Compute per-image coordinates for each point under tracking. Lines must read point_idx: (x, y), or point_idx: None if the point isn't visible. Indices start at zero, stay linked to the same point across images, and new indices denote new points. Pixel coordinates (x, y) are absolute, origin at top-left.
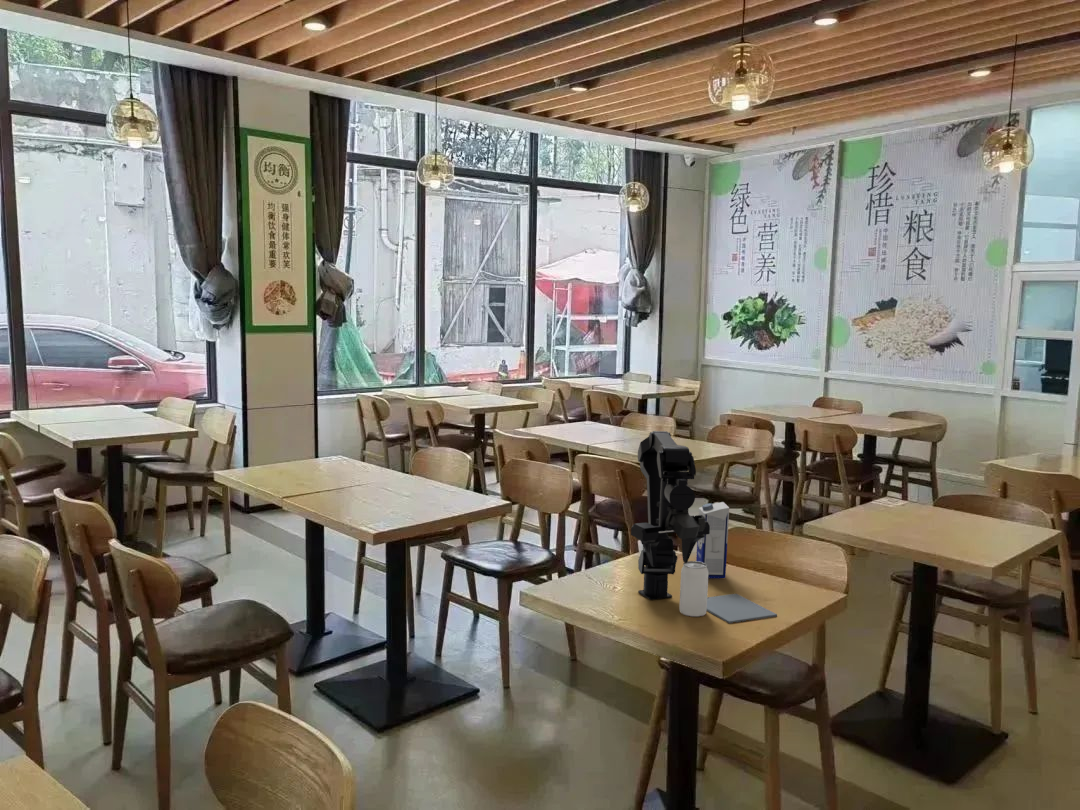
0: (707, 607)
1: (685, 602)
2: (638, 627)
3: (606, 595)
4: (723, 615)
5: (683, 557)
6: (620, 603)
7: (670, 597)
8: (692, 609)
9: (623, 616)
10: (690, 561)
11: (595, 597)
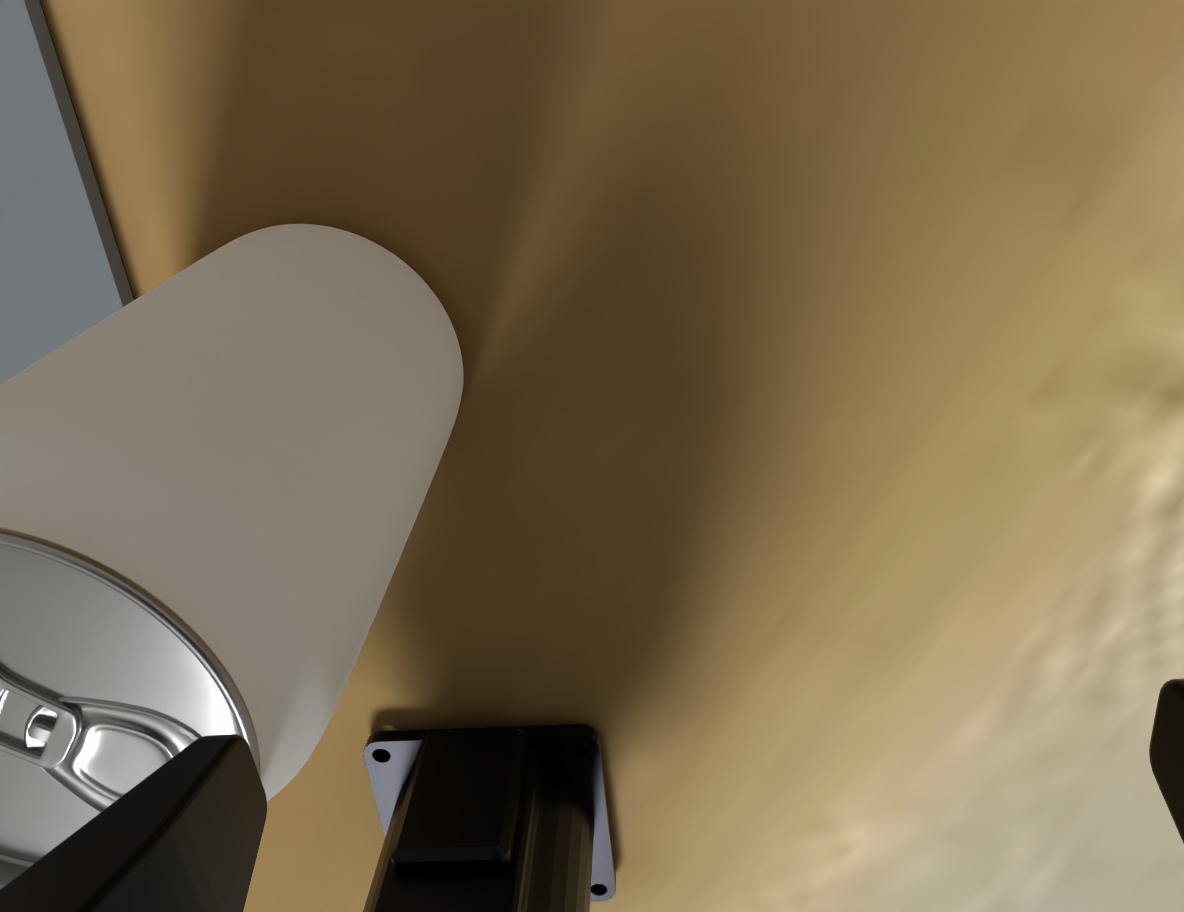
0: None
1: (417, 354)
2: (1156, 111)
3: (902, 897)
4: (15, 141)
5: (229, 890)
6: (898, 734)
7: (388, 731)
8: (364, 264)
9: (1088, 454)
10: None
11: (1019, 885)
